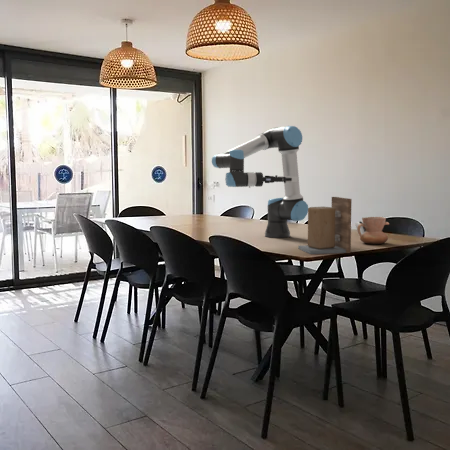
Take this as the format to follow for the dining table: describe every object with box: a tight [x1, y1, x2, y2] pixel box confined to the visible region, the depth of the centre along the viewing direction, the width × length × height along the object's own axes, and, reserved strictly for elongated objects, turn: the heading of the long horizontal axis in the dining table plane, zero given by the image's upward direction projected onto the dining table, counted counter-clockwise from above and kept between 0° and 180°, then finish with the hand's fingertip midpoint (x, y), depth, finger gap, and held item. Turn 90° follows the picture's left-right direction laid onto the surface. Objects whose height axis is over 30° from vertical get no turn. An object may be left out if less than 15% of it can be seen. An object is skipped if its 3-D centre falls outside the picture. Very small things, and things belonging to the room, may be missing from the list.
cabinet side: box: [331, 196, 352, 254], centre depth 261 cm, size 3×20×26 cm, turn 10°
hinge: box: [355, 220, 366, 234], centre depth 318 cm, size 17×5×10 cm, turn 178°
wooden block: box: [307, 206, 335, 249], centre depth 259 cm, size 10×10×20 cm
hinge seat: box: [297, 244, 347, 255], centre depth 260 cm, size 18×18×2 cm
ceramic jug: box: [356, 216, 390, 245], centre depth 283 cm, size 18×14×14 cm
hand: (293, 179), depth 283 cm, fingers open, 13 cm apart
